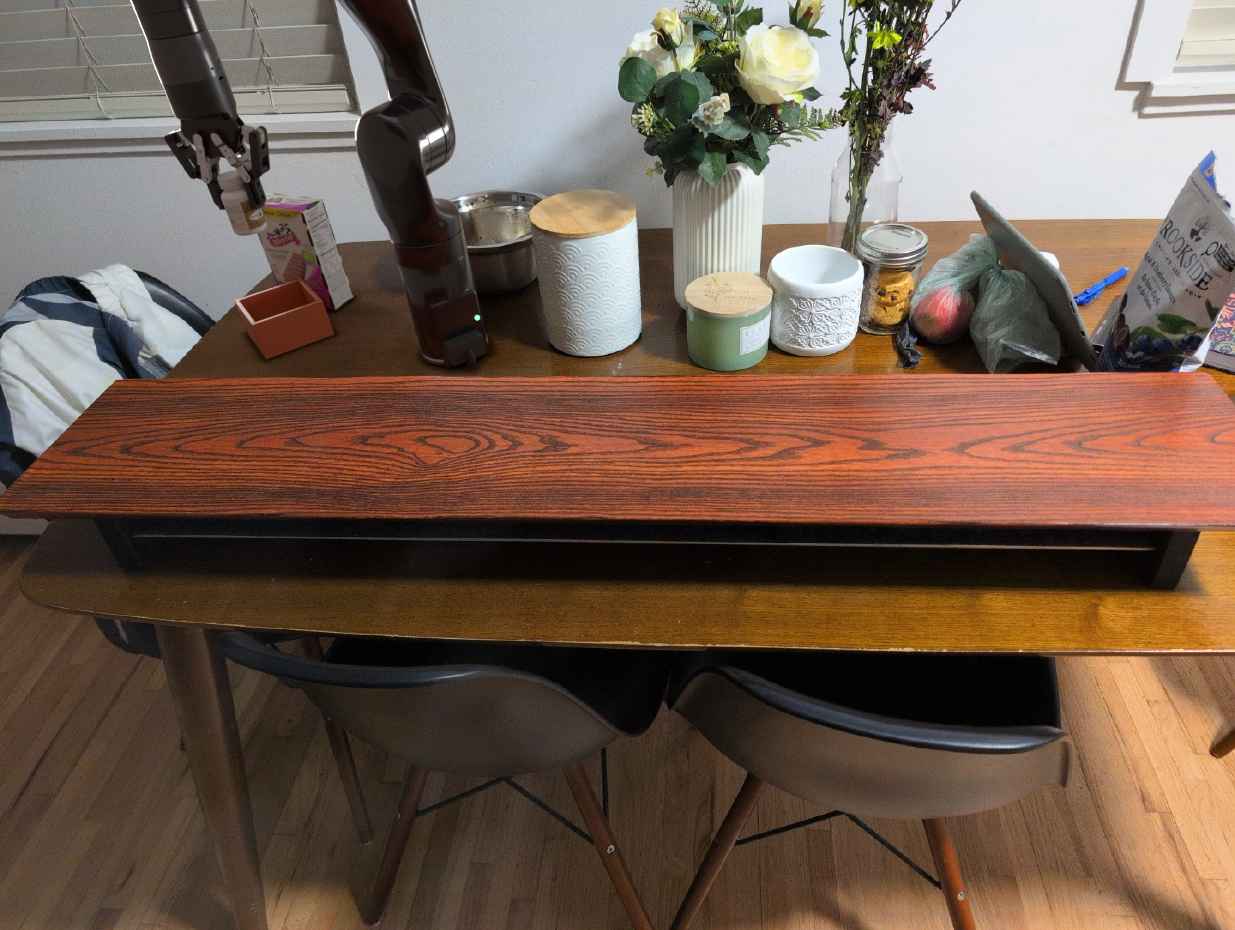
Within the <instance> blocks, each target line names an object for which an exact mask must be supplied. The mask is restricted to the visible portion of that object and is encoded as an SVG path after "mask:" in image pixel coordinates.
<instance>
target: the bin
mask: <svg viewBox="0 0 1235 930" xmlns="http://www.w3.org/2000/svg"><path fill="white" fill-rule="evenodd" d="M233 301H234V304H235V306H236V308H237V311H238V313H239V316H240V319H241V321H242V323H243V325H244V327H245V330H246V333H247V334H248V336H249V337H250V339H251V340H252V342H253V343H254V344H255V346H256V347H257V348H258V350H259V351H260V353H261V354H262V356H263V357H264V359H265V360H268V359H272V358H275V357H277V356H280V355H283V354H285V353H288V352H291V351H293V350H297V349H299V348H301V347H304V346H307V345H310V344H312V343H315V342H319V341H321V340H324V339H326V338H329V337H332V336H334V335H335V333H334V331H333V327H332V324H331V321H330V319H329V315H328V312H327V309H326V308H325V307H324V304H323V301H322V300H321V299H320V298H319V297H318V296H317V295H316V293H315V292H314V291H313V290H312V289H311V288H310V287H309V286H308V285H307V284H306V283H305V282H304V281H303V280H302V279H301V278H300V279H297V280H294V281H291V282H288V283H285V284H282V285H279V286H277V285H276V286H273V287H270V288H267V289H265V290H261V291H258V292H255V293H252V294H249V295H247V296H243V297H240V298H237V299H234V300H233Z"/></svg>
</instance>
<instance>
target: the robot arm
mask: <svg viewBox="0 0 1235 930" xmlns="http://www.w3.org/2000/svg"><path fill="white" fill-rule="evenodd" d="M129 1H130V3H131V4H132V8H133V10H134V13H135V15H136V17H137V20H138V23H139V26H140V27H141V29H142V32H143V35H144V37H145V40H146V43H147V47H148V50H149V55H150V58H151V60H152V63H153V66H154V69H155V71H156V74H157V76H158V79H159V81H160V84H161V86H162V89H163V91H164V93H165V96H166V98H167V101H168V103H169V106H170V108H171V110H172V113H173V115H174V118H176V119H177V120H179V124H180V126H179V128H176V129H174V130H172V131H171V132H169V133H167V134H165V135H164V138H163V140H164V142H165V143H166V144H167V146H168V148H169V149H170V151H171V152H172V154H173V155H174V156H175V158H176V159H177V161H178V162H179V164H180V165H181V167H182V168H183V170H184V171H185V173H186V174H187V176H188V177H189V178H190V179H191V180H196V179H198V180H201V181H202V182H203V183H204V184H205V185H206V187H207V189H208V191H209V194H210V197H211V199H212V202H213V203H214V204H215V206H217V207H218V209H219V211H226V210H225V207H224V205H223V202H222V200H221V194H222V192H223V191H224V190H223V189H221V187H220V185H219V182H218V180H217V177H218V176H219V175H220V174H221V168H220V161H221V158H223V159H225V160H226V161H227V162H228V164H229V166H230V167H231V168H234V170H237V172H238V173H239V175H240V176H241V178H242V179H243V181H245V182H244V183H243V185H244V188H245V190H246V193H247V196H248V198H249V201H250V204H251V206H252V208H253V209H260V208H261V207H263V206H264V205H265V201H266V195H265V194H266V192H265V190H264V187H263V184H262V182H261V177H262V176H263V175H264V174H266V173H267V172H269V171H270V170H271V161H270V159H271V158H270V151H269V150H270V149H269V136H268V130H267V128H266V127H265V126H264V125H259V126H257V127H254V126H251V125H247V124H245V122H244V120H242V118H241V117H240V116H239V113H238V110H237V101H236V99H235V96H234V93H233V90H232V87H231V84H230V81H229V79H228V76H227V74H226V70H225V68H224V65H223V62H222V59H221V56H220V54H219V50H218V48H217V45H216V44H215V41H214V40H213V37H212V36H211V33H210V32H209V28H208V27H207V24H206V22H205V18H204V15H203V13H202V9H201V8H200V4H199V2H198V1H199V0H129ZM336 1H337V2H338V4H339V5H340V6H341V8H342V9H343V10H344V12H346V14H347V15H348V16H349V17H350V18H351V20H352V21H353V22H354V23H355V25H356V26H357V27H358V28H359V29H360V31H361V32H362V34H363V35H364V36H365V37H366V39H367V40H368V43H369V44H370V45H371V47H372V49H373V51H374V54H375V56H376V58H377V61H378V63H379V66H380V70H381V72H382V76H383V79H384V83H385V86H386V90H387V96H388V100H386V101H384V102H382V103H380V104H378V105H376V106H374V107H372V108H370V109H368V110H366V111H365V112H364V113H363V114H361V115H360V116H359V117H358V119H357V121H356V124H355V128H354V143H355V149H356V154H357V158H358V162H359V164H360V168H361V171H362V173H363V176H364V180H365V182H366V185H367V188H368V191H369V194H370V197H371V201H372V203H373V206H374V209H375V212H376V214H377V216H378V218H379V219H380V221H381V222H382V223H383V225H384V227H385V228H386V230H387V232H388V236H389V239H390V243H391V247H392V250H393V253H394V256H395V257H394V258H395V260H396V264H397V268H398V272H399V275H400V279H401V283H402V286H403V290H404V294H405V298H406V301H407V304H408V305H407V306H408V309H409V312H410V314H411V319H412V324H413V330H414V333H415V337H417V340H418V344H419V350H420V355H421V358H422V359H423V360H424V361H425V362H426V363H428V364H430V365H434V366H440V367H446V368H447V369H449V370H451V369H454V368H456V367H458V366H461V365H463V364H465V366H466V368H467V369H472V368H473V367H475V366H476V363H477V359H478V358H480V357H483V356H485V355H488V354H490V351H489V337H488V334H487V332H486V327H485V323H484V318H483V314H482V310H481V304H480V301H479V296H478V292H477V291H478V290H477V288H476V282H475V277H474V273H473V268H472V263H471V259H470V255H469V250H468V244H467V240H466V235H465V231H464V226H463V222H462V217H461V213H460V210H459V207H458V205H456V204H455V202H453V201H451V200H449V199H446V198H441V197H434V196H433V194H432V190H431V187H430V184H429V181H428V176H430V175H431V174H432V173H435V172H436V171H438V170H439V169H440V168H442V167H444V166H445V165H446V164H447V163H448V162H449V161H450V160H451V159H452V157H453V156H454V153H455V151H456V144H457V143H456V142H457V141H456V140H457V139H456V129H455V123H454V120H453V116H452V112H451V110H450V106H449V104H448V100H447V98H446V94H445V91H444V89H443V87H442V83H441V80H440V77H439V75H438V71H437V69H436V66H435V63H434V60H433V57H432V53H431V51H430V47H429V45H428V42H427V37H426V35H425V30H424V27H423V23H422V20H421V16H420V12H419V9H418V5H417V0H336ZM244 138H245V140H246V141H245V142H244ZM247 145H249V148H248V147H247ZM193 146H194V147H193ZM237 154H238V156H237Z"/></svg>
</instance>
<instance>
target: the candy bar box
mask: <svg viewBox="0 0 1235 930" xmlns="http://www.w3.org/2000/svg"><path fill="white" fill-rule="evenodd" d="M265 195H266V201H265V205H264V206H263V207H261V210H262V213H263V215H264V218H265V221H266V224H267V226H266V228H265V229H264V230H263V231H261V232H259V233H256V234H257V236H258V239H259V242H260V244H261V247H262V250H263V251H264V254H265V257H266V260H267V263H268V265H269V268H270V270H271V273H272V275H273V278H274V281H275V284H276V286H279V285H282V284H285V283H288V282H291V281H294V280H297V279H300V278H301V279H302V280H303V281H304V282H305V283H306V284H307V285H308V286H309V287H310V288H311V289H312V290H313V291H314V292H315V293H316V295H317V296H318V297H319V298H320V299H321V300H322V301H323V304H324V307H325V309H326V310H332V311H336V310H339V308H341V307H342V306H344V305H345V304H347V302H349V301H350V300H352V299H353V298H354V293H353V290H352V287H351V284H350V280H349V278H348V274H347V271H346V269H345V265H344V262H343V259H342V256H341V253H340V250H339V245H338V244H337V240H336V237H335V234H334V231H333V227H332V225H331V221H330V219H329V215H328V211H327V210H326V209H327V208H326V207H325V203H324V200H323V198H318V197H310V196H309V197H308V196H301V195H290V194H283V193H276V192H275V193H274V192H265Z"/></svg>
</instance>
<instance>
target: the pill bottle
mask: <svg viewBox="0 0 1235 930" xmlns="http://www.w3.org/2000/svg"><path fill="white" fill-rule="evenodd" d="M217 180H218V182H219V185H220V187H221V189H223V190H224V191H223V192H222V194H221V200H222V202H223V205H224V207H225V210H224V211H225V213H226V215H227V217H228V220H229V223H230V225H231V228H232V230H233V233H234V234H235V235H236V236H240V237H246V236H253V235H256V234H257V233H259V232H261V231H263V230H264V229H265V228H266V226H267V224H266V221H265V218H264V215H263V213H262V210H261V208H260V209H253V208H252V206H251V204H250V201H249V198H248V196H247V193H246V190H245V188H244V185H243V183H244V182H245V181H243V179H242V178H241V176H240V175H239V173H238V172H237V170H236V169H233V170H228V171H223V172H222V173H220V175H219V176H218V177H217Z"/></svg>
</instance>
